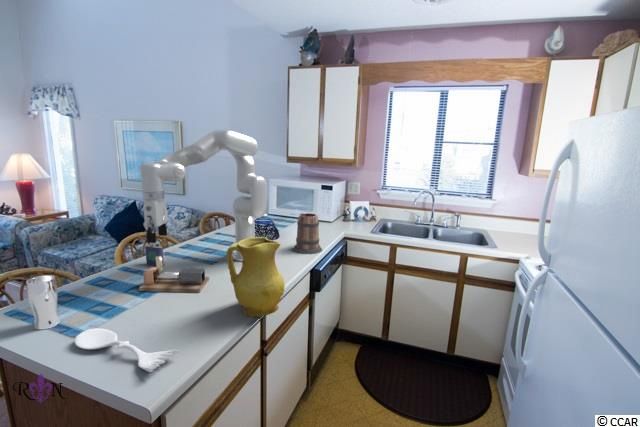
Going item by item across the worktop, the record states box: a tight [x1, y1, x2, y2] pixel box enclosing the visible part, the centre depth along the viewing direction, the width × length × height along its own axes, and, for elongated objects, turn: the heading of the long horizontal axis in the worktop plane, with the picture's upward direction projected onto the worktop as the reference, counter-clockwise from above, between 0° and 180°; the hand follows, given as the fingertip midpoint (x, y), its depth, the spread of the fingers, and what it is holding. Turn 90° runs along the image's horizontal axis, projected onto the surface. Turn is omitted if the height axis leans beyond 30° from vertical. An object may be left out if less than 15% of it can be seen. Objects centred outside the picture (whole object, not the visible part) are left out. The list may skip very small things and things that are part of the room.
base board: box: [138, 276, 210, 293], centre depth 132 cm, size 23×12×2 cm, turn 92°
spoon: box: [73, 327, 180, 373], centre depth 89 cm, size 9×32×4 cm, turn 68°
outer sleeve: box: [179, 267, 206, 285], centre depth 131 cm, size 8×5×5 cm, turn 92°
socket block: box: [143, 267, 157, 284], centre depth 130 cm, size 4×5×5 cm
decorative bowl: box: [254, 213, 280, 241], centre depth 205 cm, size 20×20×14 cm
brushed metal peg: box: [153, 256, 180, 280], centre depth 130 cm, size 15×3×10 cm, turn 92°
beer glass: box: [25, 274, 61, 331], centre depth 100 cm, size 7×7×15 cm
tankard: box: [292, 212, 323, 255], centre depth 185 cm, size 24×17×20 cm
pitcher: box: [226, 236, 285, 318], centre depth 114 cm, size 17×19×25 cm
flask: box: [145, 242, 165, 267], centre depth 152 cm, size 9×3×11 cm, turn 74°
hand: (157, 238), depth 128 cm, fingers open, 9 cm apart
